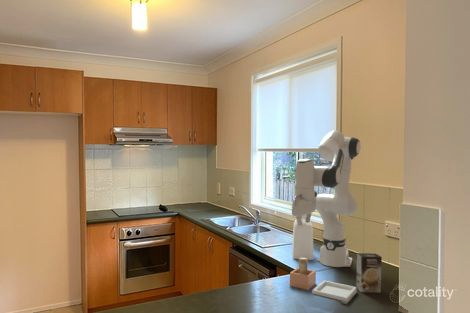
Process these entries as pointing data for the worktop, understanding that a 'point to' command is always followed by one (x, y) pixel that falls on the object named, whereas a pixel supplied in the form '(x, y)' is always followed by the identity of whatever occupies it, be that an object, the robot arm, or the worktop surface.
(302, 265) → the pin
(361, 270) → the coffee box
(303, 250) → the milk
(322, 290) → the tray
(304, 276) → the orange open box
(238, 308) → the worktop surface
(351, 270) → the worktop surface
